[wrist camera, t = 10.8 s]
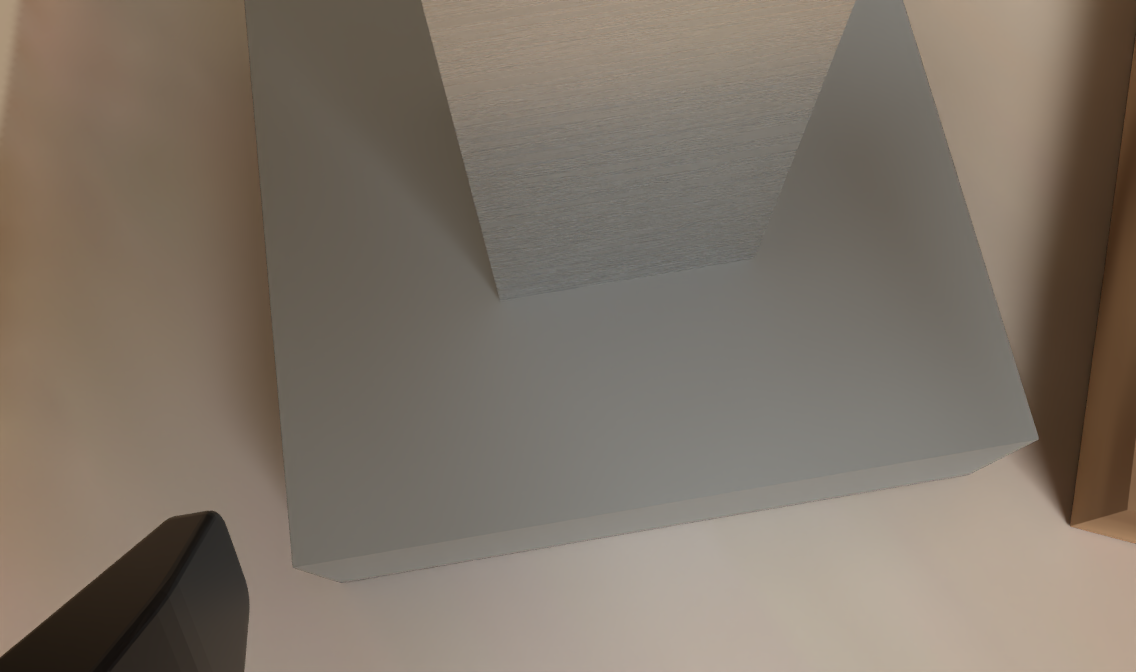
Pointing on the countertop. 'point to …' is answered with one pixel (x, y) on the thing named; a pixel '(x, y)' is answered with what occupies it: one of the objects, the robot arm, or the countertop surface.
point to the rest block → (603, 319)
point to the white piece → (627, 127)
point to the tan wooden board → (1114, 367)
